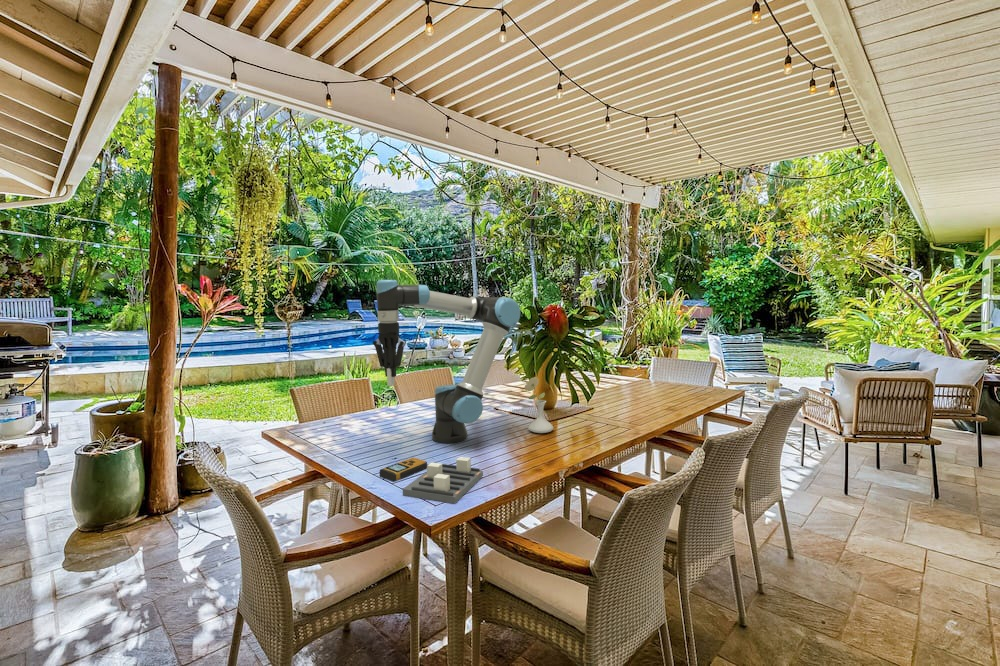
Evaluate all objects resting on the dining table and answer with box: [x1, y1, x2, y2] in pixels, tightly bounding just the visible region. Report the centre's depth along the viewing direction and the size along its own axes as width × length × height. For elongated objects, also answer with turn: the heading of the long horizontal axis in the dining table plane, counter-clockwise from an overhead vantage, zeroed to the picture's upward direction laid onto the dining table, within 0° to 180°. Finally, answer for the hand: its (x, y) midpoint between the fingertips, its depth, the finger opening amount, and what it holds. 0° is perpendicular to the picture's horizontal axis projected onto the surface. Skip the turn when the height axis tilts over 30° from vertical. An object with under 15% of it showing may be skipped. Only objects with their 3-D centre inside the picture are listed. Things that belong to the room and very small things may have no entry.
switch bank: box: [402, 463, 484, 505], centre depth 157 cm, size 22×18×3 cm
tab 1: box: [426, 462, 443, 478], centre depth 158 cm, size 3×4×4 cm
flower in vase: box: [524, 376, 554, 434], centre depth 214 cm, size 13×11×25 cm
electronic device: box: [379, 457, 428, 482], centre depth 169 cm, size 8×16×3 cm, turn 142°
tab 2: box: [434, 474, 450, 492], centre depth 148 cm, size 3×4×4 cm
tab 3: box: [455, 456, 472, 473], centre depth 163 cm, size 3×4×4 cm
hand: (391, 385), depth 178 cm, fingers closed
